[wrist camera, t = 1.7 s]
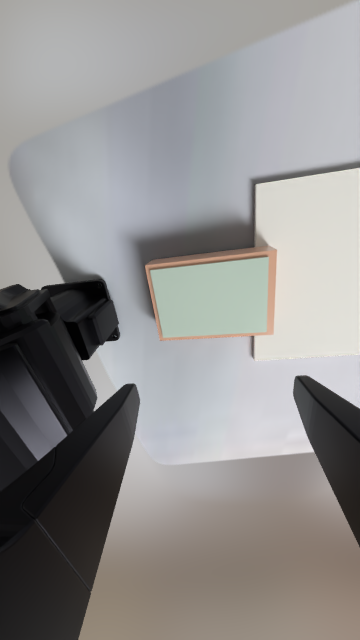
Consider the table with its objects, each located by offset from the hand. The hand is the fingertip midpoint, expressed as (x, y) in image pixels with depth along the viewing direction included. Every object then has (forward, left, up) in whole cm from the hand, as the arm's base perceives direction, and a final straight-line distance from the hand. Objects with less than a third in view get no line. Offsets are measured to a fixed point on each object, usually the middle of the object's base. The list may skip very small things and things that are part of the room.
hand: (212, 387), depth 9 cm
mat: (+12, 0, -13) cm, 18 cm away
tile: (+5, 0, -11) cm, 12 cm away
